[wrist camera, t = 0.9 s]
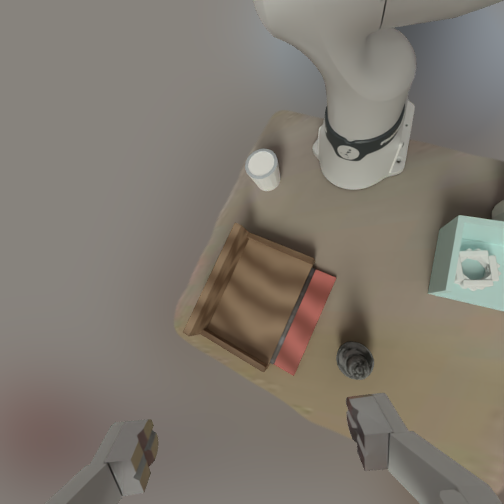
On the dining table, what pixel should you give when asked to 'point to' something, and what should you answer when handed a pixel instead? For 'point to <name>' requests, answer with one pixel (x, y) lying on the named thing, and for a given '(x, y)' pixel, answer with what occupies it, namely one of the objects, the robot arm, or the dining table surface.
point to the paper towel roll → (498, 211)
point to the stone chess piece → (355, 360)
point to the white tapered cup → (263, 169)
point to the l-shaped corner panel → (470, 262)
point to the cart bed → (261, 301)
